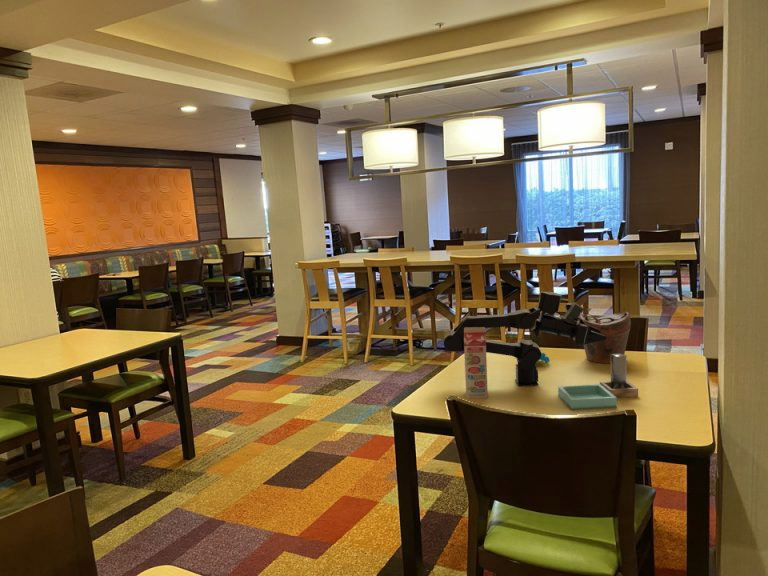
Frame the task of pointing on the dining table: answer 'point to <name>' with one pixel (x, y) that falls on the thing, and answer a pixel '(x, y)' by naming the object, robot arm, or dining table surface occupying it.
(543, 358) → the gear
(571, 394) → the bin
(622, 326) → the broken terracotta flower pot
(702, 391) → the dining table surface
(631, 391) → the collar
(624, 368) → the strut
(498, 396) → the dining table surface
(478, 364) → the juice carton
